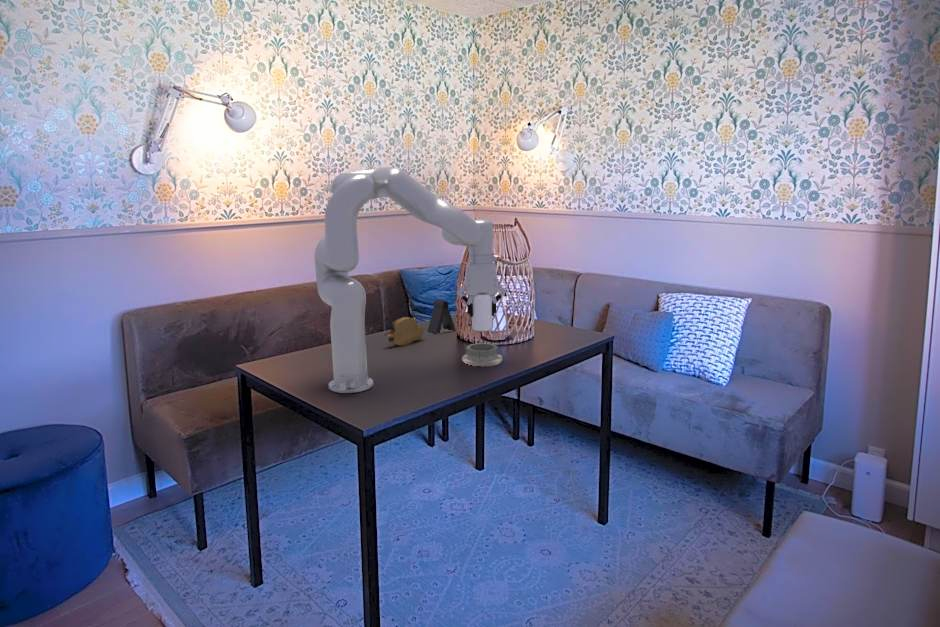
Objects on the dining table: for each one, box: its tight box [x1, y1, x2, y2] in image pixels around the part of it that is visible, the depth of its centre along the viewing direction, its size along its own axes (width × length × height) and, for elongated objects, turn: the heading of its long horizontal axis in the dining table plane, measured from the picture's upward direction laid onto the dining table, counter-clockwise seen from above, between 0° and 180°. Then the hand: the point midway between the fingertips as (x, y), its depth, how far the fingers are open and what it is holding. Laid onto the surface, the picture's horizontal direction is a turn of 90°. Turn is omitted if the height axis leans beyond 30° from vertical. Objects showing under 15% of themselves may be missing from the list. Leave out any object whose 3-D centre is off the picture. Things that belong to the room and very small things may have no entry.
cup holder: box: [461, 342, 503, 368], centre depth 205 cm, size 13×13×4 cm
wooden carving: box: [384, 316, 425, 347], centre depth 225 cm, size 16×5×10 cm, turn 139°
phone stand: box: [427, 299, 456, 334], centre depth 243 cm, size 9×6×12 cm, turn 126°
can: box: [471, 294, 493, 333], centre depth 202 cm, size 6×6×12 cm
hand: (481, 315), depth 202 cm, fingers closed on can, 6 cm apart
